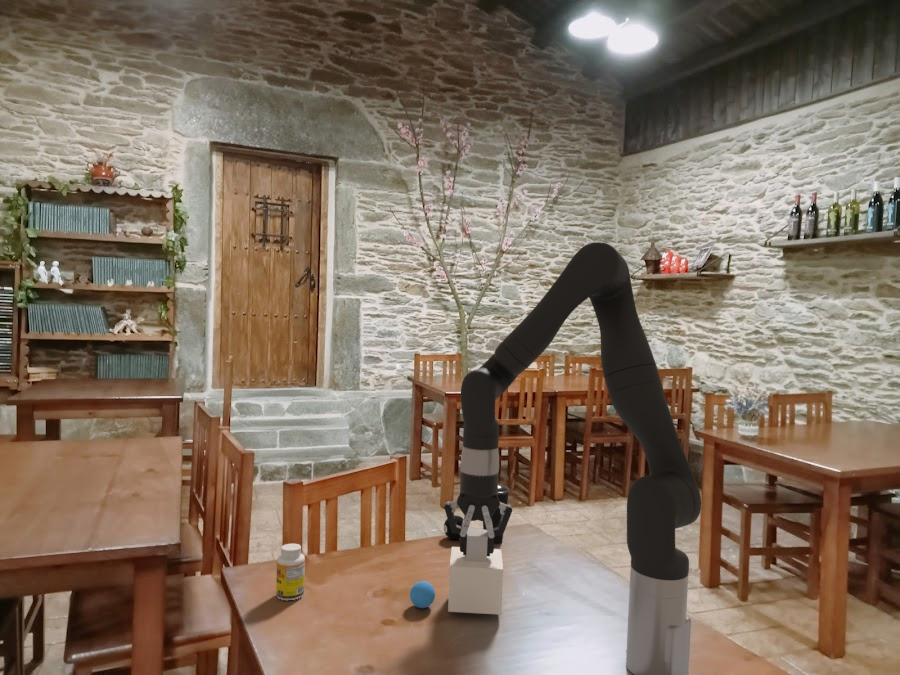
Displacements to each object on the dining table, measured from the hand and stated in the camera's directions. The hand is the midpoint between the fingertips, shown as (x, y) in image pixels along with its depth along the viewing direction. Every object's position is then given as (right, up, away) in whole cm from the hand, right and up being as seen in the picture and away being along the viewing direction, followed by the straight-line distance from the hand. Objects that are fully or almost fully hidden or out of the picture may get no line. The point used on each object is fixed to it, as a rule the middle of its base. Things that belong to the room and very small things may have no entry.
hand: (476, 553), depth 126 cm
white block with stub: (0, -10, 0) cm, 10 cm away
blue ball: (-11, -8, 0) cm, 14 cm away
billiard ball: (-4, -10, +39) cm, 40 cm away
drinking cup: (+6, -10, +38) cm, 40 cm away
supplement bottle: (-38, -10, +3) cm, 39 cm away
